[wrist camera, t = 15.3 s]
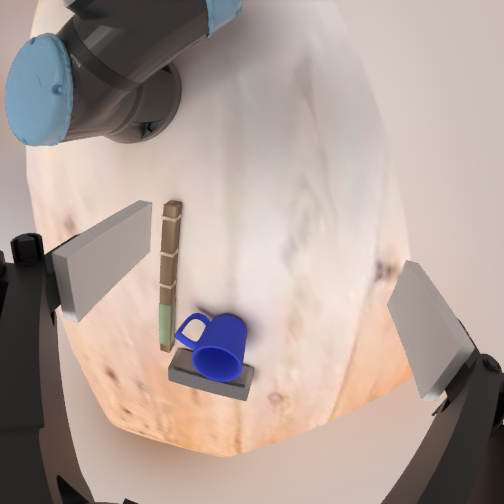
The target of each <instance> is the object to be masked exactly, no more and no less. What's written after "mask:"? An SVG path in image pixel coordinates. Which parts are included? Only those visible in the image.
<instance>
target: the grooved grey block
mask: <svg viewBox="0 0 504 504" xmlns="http://www.w3.org/2000/svg"><path fill="white" fill-rule="evenodd" d="M192 354H193V352H191V351H187V350H184V349H180V348H178V350H177V352H176V354H175V356H174V358H173V360H172V362H171V363H170V365H169V367H168V376H169V381H173V382H176V383H179V384H182V385H186V386H189V387H192V388H196V389H199V390H203V391H207V392H210V393H214V394H218V395H222V396H226V397H230V398H234V399H239V400H243V401H246V400H247V397H248V394H249V390H250V386H251V381H252V376H253V371H254V368H253V367H249V366H245V365H243V367H242V372H241V374H240V375H239V376H238V377H237V378H235V379H233V380H231V381H215V380H212V379H209V378H207V377H205V376H203V375H202V374H200V373H199V372H198V371H197V370H196V369H195V367H194V365H193V363H192Z"/></svg>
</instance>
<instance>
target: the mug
mask: <svg viewBox="0 0 504 504" xmlns="http://www.w3.org/2000/svg"><path fill="white" fill-rule="evenodd" d="M193 319H199V320H201V321H202V322H203V323H204V324H205V325H206V327H205V330H204V332H203V333H202V335H201V337H200V339H199V340H198V341H197V342H194V341H192V340H190V339H189V338H187V337H186V336H184V335H183V334H182V333H181V332H182V331H183V329H184V328H185V326H186V325H187V324H188V323H189V322H190V321H191V320H193ZM246 337H247V331H246V327H245V325H244V324H243V322H242V321H241V320H239V319H238V318H236V317H234V316H231V315H221V316H218V317H216V318H215V319H214V320H213V321H211V322H210V321H209V319H208V318H207V317H206V316H204V315H203V314H200V313H194V314H192V315H191V316H189V317H188V318H187V319H186V320H185V321H184V323H183V324H182V325H181V326H180V328H179V329H178V331H177V332H176V334H175V338H176V339H178V340H179V341H180V342H182V343H183V344H184V345H186V346H188V347H189V348H191V349H193V350H194V351H193V354H192V363H193V365H194V367H195V369H196V370H197V371H198V372H199V373H200V374H202V375H203V376H205V377H207V378H209V379H212V380H215V381H231V380H233V379H235V378H237V377H238V376H239V375H240V374H241V372H242V367H243V359H244V352H245V344H246Z"/></svg>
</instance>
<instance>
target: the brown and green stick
mask: <svg viewBox="0 0 504 504" xmlns="http://www.w3.org/2000/svg"><path fill="white" fill-rule="evenodd" d="M181 209H182V203H180V202H175V201H169V202H167V203H166V204H164V211H163V215H162V219H163V225H162V242H161V251H160V255H161V266H160V282H159V286H160V303H159V338H160V350H162V351H165V352H168V353H170V351H171V349H172V348H173V346H174V334H175V302H176V299H175V291H176V282H177V279H176V272H177V257H178V251H179V248H178V243H179V231H180V220H181V217H182V214H181Z"/></svg>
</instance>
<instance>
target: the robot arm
mask: <svg viewBox="0 0 504 504" xmlns="http://www.w3.org/2000/svg"><path fill="white" fill-rule="evenodd" d="M64 6H65V7H66V8H68V9H69V10H71V11H72V12H74V13H75V15H74V16H73V17H72V18H71V19H70V20H69V21H68V22H67V23H66V24H65V25H64V26H63V27H62V29H61V30H60V31H59V32H58V33H57V34H56V35H54V34H52V33H45V34H43V35H39V36H38V37H34V38H32V39H30V40H29V41H28V42H27V43H26V44H25V45H24V46H23V47H22V48H21V49H20V51H19V52H18V54H17V56H16V57H15V59H14V61H13V63H12V66H11V68H10V71H9V75H8V78H7V83H6V95H5V109H6V115H7V119H8V123H9V126H10V128H11V130H12V132H13V134H14V135H15V136H16V137H17V139H18V140H19V141H21V142H22V143H24V144H25V145H29V146H46V145H48V146H54V145H57V144H58V143H62V142H67V141H72V140H78V139H84V138H90V137H96V136H104V137H106V138H109V139H111V140H113V141H116V142H119V143H137V142H143V141H146V140H149V139H151V138H153V137H155V136H156V135H158V134H159V133H160V132H162V131H163V130H164V129H165V128H166V127H167V126H168V124H169V123H170V122H171V120H172V119H173V117H174V115H175V113H176V111H177V109H178V106H179V102H180V97H181V82H180V77H179V74H178V72H177V70H176V68H175V66H174V65H173V64H172V63H171V61H172V60H174V59H175V58H176V57H178V56H179V55H181V54H182V53H183V52H185V51H186V50H188V49H189V48H191V47H192V46H194V45H195V44H197V43H198V42H200V41H201V40H203V39H204V38H209V37H211V36H212V35H213V33H214V32H215V31H216V30H217V29H219V28H220V27H222V26H224V25H225V24H227V23H228V22H230V21H231V20H233V19H234V18H236V17H237V16H238V14H239V13H240V11H241V8H242V0H64ZM151 216H152V203H151V202H146V201H141V200H139V201H137V202H135V203H133V204H132V205H130V206H128V207H126V208H124V209H123V210H121V211H119V212H117V213H115V214H114V215H112V216H110V217H108V218H107V219H105V220H103V221H102V222H100V223H98V224H97V225H95V226H93V227H92V228H90V229H88V230H87V231H85V232H83V233H81V234H78V235H75V236H73V237H72V238H70V239H68V240H67V241H65V242H64V243H62V244H61V245H59V246H57V247H56V248H54V249H53V250H51V251H50V252H48V253H47V254H45V255H44V249H43V241H42V236H41V235H39V234H36V233H27V234H22V235H19V236H17V237H15V238H14V239H13V240H12V241H11V249H12V254H13V259H14V264H13V263H6V262H5V258H4V254H3V252H2V251H1V250H0V504H117V503H107V502H95V501H94V499H93V496H92V494H91V491H90V489H89V487H88V485H87V483H86V481H85V479H84V478H83V475H82V473H81V471H80V468H79V464H78V460H77V457H76V453H75V449H74V445H73V441H72V437H71V432H70V428H69V423H68V419H67V412H66V407H65V401H64V395H63V388H62V380H61V372H60V362H59V352H58V335H57V316H56V312H55V309H56V308H57V307H58V306H59V305H61V308H62V312H63V316H64V317H65V318H68V319H70V320H72V321H74V322H77V323H79V322H80V321H81V320H82V319H83V317H84V316H85V315H86V314H87V313H88V312H89V311H90V310H91V309H92V308H93V307H94V306H95V305H96V304H97V303H98V302H99V301H100V300H101V299H102V298H103V297H104V296H105V295H106V294H107V293H108V292H109V291H110V290H111V289H112V288H113V287H114V286H115V285H116V284H117V283H118V282H119V281H120V280H121V279H122V278H123V277H124V276H125V275H126V274H127V273H128V272H129V271H130V270H131V269H132V268H133V267H134V266H135V265H136V264H137V263H138V262H139V261H140V260H142V259H143V258H144V257H145V256H146V255H147V254H148V253H149V252H150V237H151ZM387 306H388V309H389V311H390V313H391V316H392V318H393V321H394V323H395V326H396V329H397V331H398V334H399V336H400V339H401V342H402V344H403V347H404V350H405V352H406V355H407V358H408V361H409V364H410V367H411V369H412V372H413V375H414V378H415V381H416V384H417V388H418V391H419V394H420V397H421V400H436V399H438V397H439V396H440V395H441V394H442V392H443V391H444V390H445V391H446V394H447V398H446V399H445V400H444V401H443V403H442V404H441V405H440V406H439V407H438V408H437V409H436V411H435V412H434V413H433V414H432V416H434V415H435V414H437V415H436V417H435V419H434V421H433V423H432V425H431V426H430V428H429V430H428V432H427V434H426V436H425V437H424V439H423V441H422V443H421V445H420V446H419V448H418V450H417V451H416V453H415V455H414V456H413V458H412V460H411V461H410V463H409V465H408V466H407V468H406V469H405V471H404V472H403V474H402V475H401V477H400V478H399V480H398V481H397V483H396V484H395V485H394V487H393V488H392V490H391V491H390V493H389V494H388V495H387V496H386V498H385V499H384V500H383V502H382V503H381V504H504V425H503V420H504V373H502V370H501V367H500V365H499V363H498V362H497V361H496V360H495V359H494V358H493V357H491V356H490V355H488V354H480V352H479V351H478V349H477V347H476V345H475V344H474V342H473V340H472V339H471V337H469V334H468V332H467V331H465V330H466V329H465V327H464V326H463V324H462V323H461V322H460V320H458V319H457V318H456V316H455V314H454V313H453V311H452V310H451V309H450V307H449V306H448V304H447V303H446V301H445V300H444V298H443V297H442V295H441V294H440V292H439V291H438V289H437V288H436V287H435V285H434V284H433V283H432V281H431V280H430V278H429V277H428V276H427V275H426V273H425V271H424V270H423V269H422V267H421V266H420V265H419V263H415V262H411V261H408V260H406V262H405V265H404V267H403V270H402V272H401V275H400V277H399V279H398V282H397V284H396V286H395V289H394V291H393V293H392V295H391V297H390V300H389V302H388V304H387ZM123 504H138V503H135V502H133V501H130V500H128V499H125V500H124V502H123Z"/></svg>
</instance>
